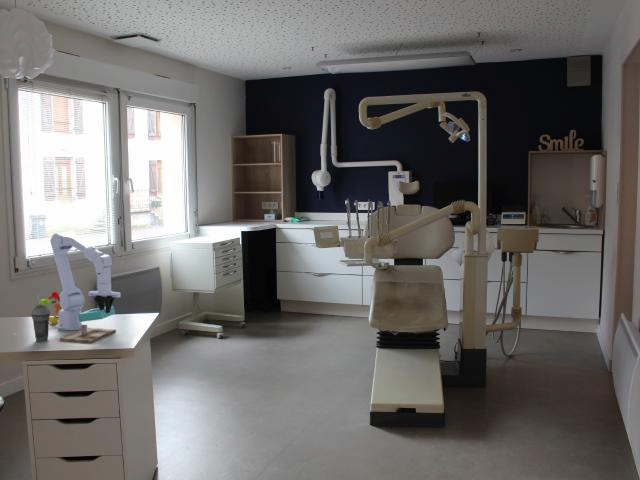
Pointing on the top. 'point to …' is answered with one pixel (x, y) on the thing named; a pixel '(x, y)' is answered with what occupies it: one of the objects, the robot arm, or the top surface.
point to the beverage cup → (41, 322)
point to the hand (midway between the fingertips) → (105, 312)
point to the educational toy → (57, 306)
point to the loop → (95, 314)
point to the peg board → (87, 335)
